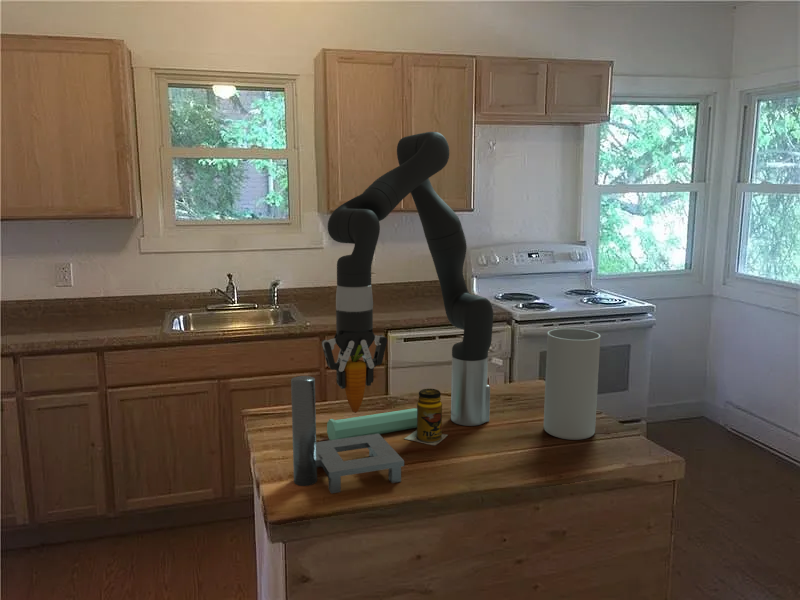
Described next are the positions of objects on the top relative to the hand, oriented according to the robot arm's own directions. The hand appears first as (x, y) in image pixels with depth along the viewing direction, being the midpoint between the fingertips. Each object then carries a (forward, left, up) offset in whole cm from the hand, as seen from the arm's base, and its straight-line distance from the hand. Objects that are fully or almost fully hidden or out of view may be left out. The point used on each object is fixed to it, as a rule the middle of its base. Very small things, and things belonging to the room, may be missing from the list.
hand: (355, 385), depth 139 cm
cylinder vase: (-57, -4, -20) cm, 60 cm away
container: (-12, -20, -20) cm, 31 cm away
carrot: (0, 0, -6) cm, 6 cm away
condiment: (-22, -13, -20) cm, 32 cm away
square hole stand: (+3, 0, -19) cm, 20 cm away
